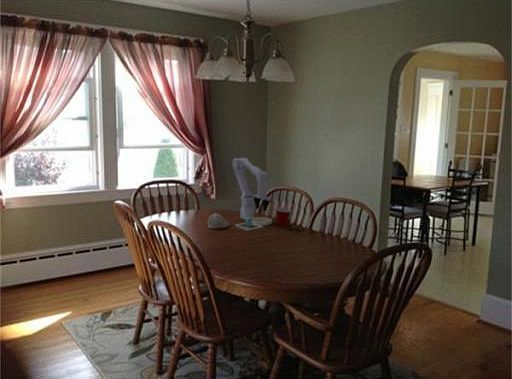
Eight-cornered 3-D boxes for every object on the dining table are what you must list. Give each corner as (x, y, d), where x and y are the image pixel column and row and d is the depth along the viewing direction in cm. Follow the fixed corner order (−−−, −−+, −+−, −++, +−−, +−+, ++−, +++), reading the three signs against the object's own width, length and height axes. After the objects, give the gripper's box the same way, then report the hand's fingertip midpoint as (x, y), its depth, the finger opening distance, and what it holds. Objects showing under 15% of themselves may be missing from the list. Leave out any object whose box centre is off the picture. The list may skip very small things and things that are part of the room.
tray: (234, 227, 304) (234, 224, 303) (248, 224, 312) (248, 222, 311) (248, 231, 293) (248, 228, 293) (262, 228, 301) (263, 226, 301)
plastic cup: (291, 229, 302) (292, 210, 300) (274, 228, 302) (275, 210, 300) (290, 225, 313) (291, 207, 311) (274, 224, 313) (274, 207, 311)
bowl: (245, 223, 315) (245, 218, 315) (261, 220, 325) (261, 216, 324) (259, 227, 304) (260, 223, 304) (276, 224, 314) (276, 220, 314)
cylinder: (244, 226, 303) (244, 217, 302) (249, 226, 305) (249, 217, 304) (248, 228, 300) (248, 218, 299) (253, 227, 302) (253, 218, 301)
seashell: (231, 227, 305) (231, 212, 303) (214, 230, 295) (214, 214, 293) (219, 223, 313) (219, 208, 312) (202, 226, 304) (202, 211, 302)
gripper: (250, 188, 316) (249, 208, 318) (264, 191, 305) (263, 212, 307) (258, 187, 320) (257, 207, 323) (272, 190, 309) (271, 210, 312)
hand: (261, 209), depth 315 cm, fingers open, 7 cm apart
